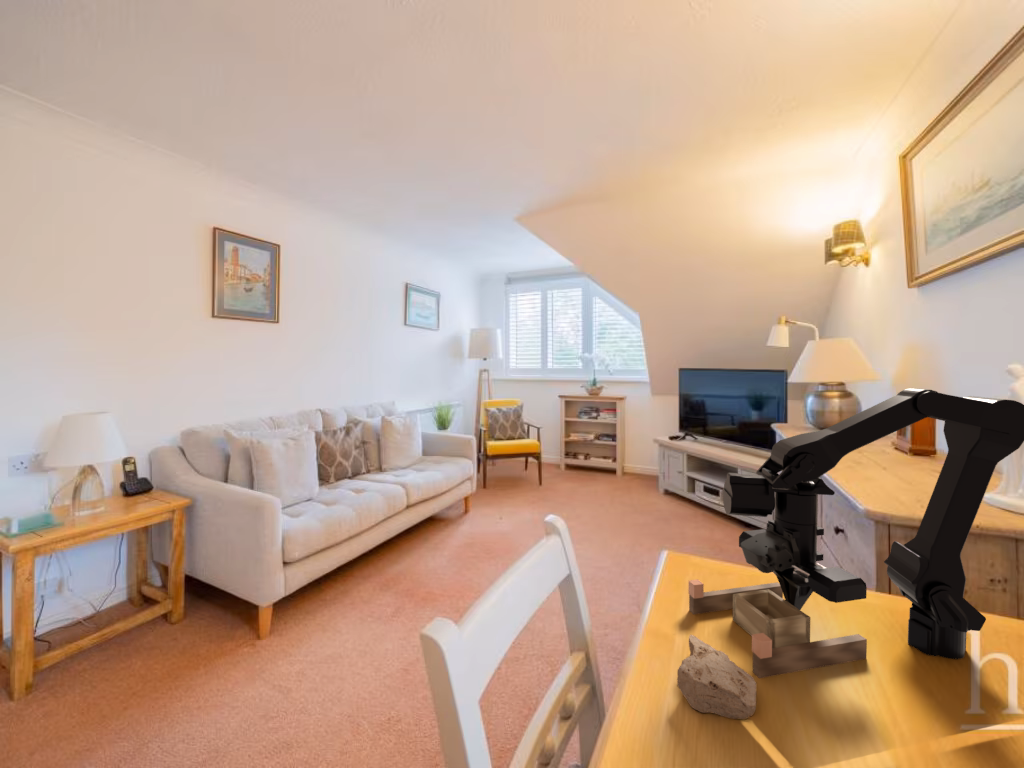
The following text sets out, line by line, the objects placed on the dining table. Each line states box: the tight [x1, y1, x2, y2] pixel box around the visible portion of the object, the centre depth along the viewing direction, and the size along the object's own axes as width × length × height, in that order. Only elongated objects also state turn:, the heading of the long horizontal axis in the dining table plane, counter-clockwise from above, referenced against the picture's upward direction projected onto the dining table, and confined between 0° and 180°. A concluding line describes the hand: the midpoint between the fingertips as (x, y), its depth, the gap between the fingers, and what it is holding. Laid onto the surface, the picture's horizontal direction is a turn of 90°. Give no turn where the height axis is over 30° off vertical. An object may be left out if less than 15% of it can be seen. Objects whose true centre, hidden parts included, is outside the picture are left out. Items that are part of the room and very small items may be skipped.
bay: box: [688, 579, 868, 679], centre depth 66 cm, size 18×16×6 cm
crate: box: [732, 589, 811, 649], centre depth 66 cm, size 7×8×4 cm
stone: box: [676, 634, 757, 720], centre depth 56 cm, size 9×11×5 cm
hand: (793, 611), depth 67 cm, fingers closed
